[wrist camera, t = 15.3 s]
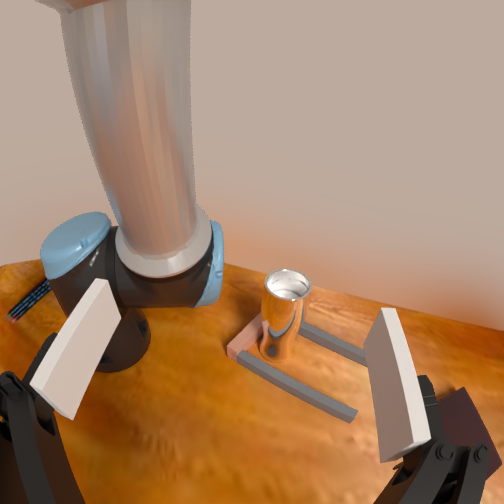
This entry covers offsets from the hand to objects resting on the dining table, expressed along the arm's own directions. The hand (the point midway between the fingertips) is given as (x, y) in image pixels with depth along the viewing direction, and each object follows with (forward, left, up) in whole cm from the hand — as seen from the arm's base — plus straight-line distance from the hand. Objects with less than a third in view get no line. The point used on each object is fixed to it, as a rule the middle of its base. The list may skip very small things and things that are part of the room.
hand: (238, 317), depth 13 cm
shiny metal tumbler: (-7, +20, -30) cm, 37 cm away
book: (+32, +17, -31) cm, 47 cm away
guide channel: (-1, +20, -30) cm, 36 cm away
